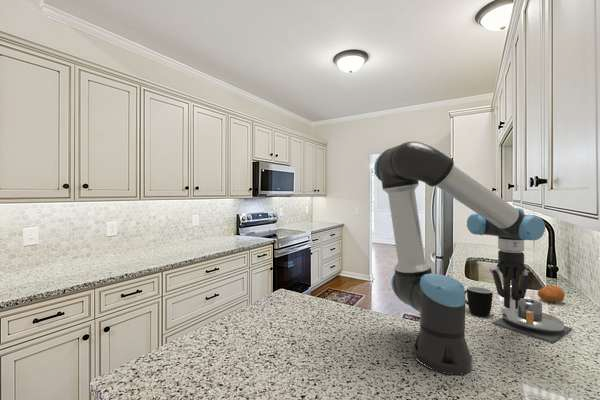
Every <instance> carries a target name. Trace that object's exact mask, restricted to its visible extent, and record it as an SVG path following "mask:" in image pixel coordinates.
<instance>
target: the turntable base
mask: <svg viewBox="0 0 600 400" xmlns="http://www.w3.org/2000/svg"><path fill="white" fill-rule="evenodd" d="M491 325H493V326H498V327H500V328H503V329H506V330H510V331H512V332H515V333H519V334H522V335H524V336H528V337H530V338H534V339H537V340H540V341H544V342H545V343H546V342H547V343H549V344H555V343H556V342H558V340H560V339H562V338H563V337H564V336H566V335H567V334H568V333H570V332H571V331H572V330H573V328H572V327H569V326H566V325H564V330H562V331H558V332H549V331H540V330H534V329H530V328H526V327H522V326H519V325H516V324H514V323H511V322H509V321H507V320H506V319H504V318H503V317H501V318H498V319H497V320H495V321H494V320H493V321H492V323H491Z"/></svg>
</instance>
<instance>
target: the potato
mask: <svg viewBox="0 0 600 400" xmlns="http://www.w3.org/2000/svg"><path fill="white" fill-rule="evenodd" d="M537 296H538V297H539V298H540V299H541V300H543V301H545V302H547V303H548V302H549V303H552V302H557V303H561V302H563V300H564V299H565V292H564V290H563V289H562V288H561V287H560V286H556V285H547V286H543V287H542V288H540V289H539V290H538V291H537Z"/></svg>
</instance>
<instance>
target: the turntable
mask: <svg viewBox="0 0 600 400" xmlns="http://www.w3.org/2000/svg"><path fill="white" fill-rule="evenodd" d="M501 316H502V317H501V318H504V319H506V320H507V321H509V322H511V323H514V324H516V325H519V326H522V327H526V328H530V329H534V330H540V331H549V332H558V331H562V330H564V326H565V322H564V321H563V320H561V319H560V318H558V317H556V316H554V315H550V314H547V313H545V312H542V321H540V322H534V312H532V311H526V320H525V319H522V318H520V317H518V308H517V309H515V319H511V318H509V317H508V316H507V308H504V309H502V310H501Z"/></svg>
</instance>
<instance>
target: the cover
mask: <svg viewBox="0 0 600 400" xmlns="http://www.w3.org/2000/svg"><path fill="white" fill-rule="evenodd" d="M526 311H532V312H534V322H540V321H542V313H543V302H540V301H539V300H535V299H531V298H530V299H529V298H525V297H524V298H523V299H522V298H521V299H520V300H519V301H518V317H520V318H522V319H525V320H526Z"/></svg>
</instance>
